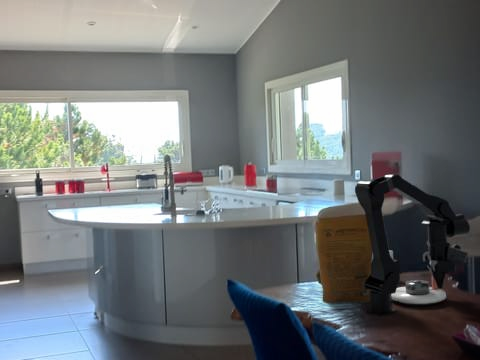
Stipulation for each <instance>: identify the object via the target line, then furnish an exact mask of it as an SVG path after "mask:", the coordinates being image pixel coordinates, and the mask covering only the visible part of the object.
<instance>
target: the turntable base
mask: <svg viewBox="0 0 480 360" xmlns="http://www.w3.org/2000/svg"><path fill="white" fill-rule="evenodd" d="M399 303H400V304H402V303H403V305H406V304H407V305H408V306H414V307H415V306H416V307H419V306H421V307H422V306H431V305H432V306H433V305H434V304H437V303H438V302H435V303H426V304H414V303H404V302H399Z"/></svg>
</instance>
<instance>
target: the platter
mask: <svg viewBox="0 0 480 360" xmlns="http://www.w3.org/2000/svg"><path fill="white" fill-rule="evenodd" d="M429 290H430V293H429V294H427V295H409V294H407V293H406V287H405V286H401V287H397V289H396V293H393V294H391V296H392V301H396V302H398V301H399V303H400V302H404V303H414V304H426V303H435V302H437V303H440V302H442V301H444V300H445V299H446V298H447V292H445V291H444V290H443V289H438V287H437V285H436V283H435V281H434V279H433V277H432V276H431V286H429ZM435 304H436V303H435Z"/></svg>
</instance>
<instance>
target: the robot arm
mask: <svg viewBox="0 0 480 360" xmlns="http://www.w3.org/2000/svg"><path fill="white" fill-rule="evenodd" d="M392 191H394V192H396V193H397V194H399V195H401V196H403V197H404V198H406V199H408V200H409V201H411V202H412V203H414V204H415V205H417V207H418V208H419V210H420V211H421V212H422V214H424V215H425V216H427V217H426V218H425V219H424V220H423V221H422V222H421V226H426V227H427V241H426V245H427V246H428V251H424V252H423V254H422V261H423V262H425V263H427V261H429V264H427V265H426V267H427V268H428V271H429V272H430V274H431V278H432V277H433V279H434V281H435V283H436V285H437V287H438V289H441V290H443V286H444V281H445V278H446V274H447V273H448V272H457V264H456V263H455V262H454V261H453V260H458V261H461V263H466V261H467V258H468V255H469V252H468V251H466V250H464V249H461V248H462V247H461V245H459V244H457V243H456V244H455V243H454V244H453V245H451V243H450V242H448V238H454V237H456V238H457V237H461V236H467V235H469V233H470V230H471V229H470V228H471V226H470V223H469V221H468V220H467V219H466V218H465V214H462V213H456V214H455V211H453V209H452V208H451V206H450V202H449V201H448V200H447V199H445V198H442V197H439V196H437V195H432V194H429V193H426V192H425V191H424V190H422V189H420V188H419V187H417V186H415V185H414V184H412V183H411V182H409V181H408V180H406V179H404V178H403V177H402V176H400V175H399V174H397V173H393V174H392V173H391V174H389V173H387V174H386V175H383V176H379V177H376V178H372V179H363V180H360V181H358V182H357V183H356V185H355V188H354V192H355V195H356V198H357V201H358V203H359V205H360V207H361V208H362V209H363V211H364V214H365V215H366V220H367V225H368V231H369V236H370V241H371V247H372V252H373V260H372V263H371V274H370V276H369V277H368V278H367V280H366V281H365V283H364V285H365V288H366V289H367V290H370V291H371V292H370V301H369V302H370V308H369V309H366V313H369V314H373V315H379V316H388V315H390V314H393V313H394V312H397V308H393V299H392V296H391V294H393V293H396V289H397V288H398V285H399V282H400V281H401V274H402V271H401V268H400V262H399V260H397V259H394V258H393V259H392V258H391V256H390V252H389V250H390V247H389V242H388V238H387V232H386V227H385V222H384V221H385V220H384V216H383V215H384V214H383V211H382V209H383V205H384V202H385V195H386V194H389V193H390V192H392ZM432 217H433V218H434V219H433V218H432ZM452 259H453V260H452Z"/></svg>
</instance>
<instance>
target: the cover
mask: <svg viewBox="0 0 480 360" xmlns="http://www.w3.org/2000/svg"><path fill="white" fill-rule="evenodd" d="M404 283H405V284H404V285H405V286H404V287H406V293H407V294H409V295H427V294H429V293H430V290H429V287H430V281H427V280H423V279H412V280H406V281H405V282H404Z"/></svg>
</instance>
